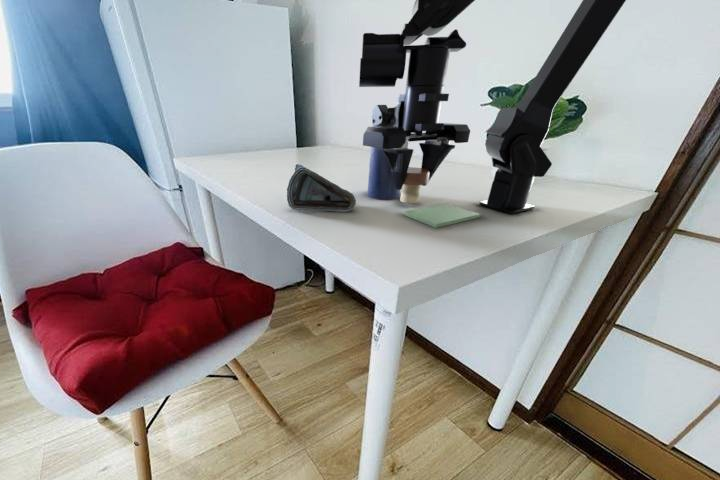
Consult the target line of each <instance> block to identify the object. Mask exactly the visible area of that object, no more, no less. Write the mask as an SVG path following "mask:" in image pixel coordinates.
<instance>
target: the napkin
mask: <svg viewBox="0 0 720 480" xmlns="http://www.w3.org/2000/svg"><path fill="white" fill-rule="evenodd" d="M403 216H405V217H408V218H410V219H413V220H415V221H417V222H420V223H422V224H425V225H427V226H430V227H432V228H434V229H438V228H441V227H442V228H443V227H446V226H449V225H454V224H459V223H462V222H467V221H470V220H473V219H474V220H475V219H480V217H481V213H478V212H476V211H472V210H469V209H466V208H462V207H459V206H456V205H454V204H450V203H447V202H445V203H440V204H435V205H430V206H425V207H421V208H420V207H419V208H416V209H409V210H405V211H403Z"/></svg>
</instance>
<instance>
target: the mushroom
mask: <svg viewBox="0 0 720 480" xmlns="http://www.w3.org/2000/svg"><path fill="white" fill-rule="evenodd" d="M429 174H430V171H429V170H427V169H423V168H421V167H415V166H414V167H413V166H412V167H411V166H409V167H408V171H407V174H406V177H405V181H404V184H403V186H402V189H401V190H400V196H399V198H400V199H399V200H400V202H402V203H404V204H417V203H418V202H419V199H420V191H421V186H423V185H425V184H427V185H428V183H429V182H428V180H429ZM429 181H430V180H429Z"/></svg>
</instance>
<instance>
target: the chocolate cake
mask: <svg viewBox="0 0 720 480" xmlns="http://www.w3.org/2000/svg"><path fill="white" fill-rule="evenodd" d="M286 201H287V205H288V207H289V208H291V209H292V210H294V211H300V212H301V211H304V212H334V213H336V212H338V213H348V212H352V211H353V210H354V208H355V207H356V205H357V204H356V203H357V199H356V196H355V194H353V193H352V192H350V191H349V190H347V189H344V188H342V187H340V186H339V185H338V184H335V183H333V182H332V181H330V180H329V179H327V178H325V177H324V176H322V175H320V174H318V173H317V172H315V171H313V170H310V168H307V167H305V166H303V165H302V164H298V163H297V164H296V165H295V167H294V172H293V174H292V175H291V177H290V179H289V181H288V185H287V188H286Z"/></svg>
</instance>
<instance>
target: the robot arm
mask: <svg viewBox="0 0 720 480" xmlns="http://www.w3.org/2000/svg"><path fill="white" fill-rule="evenodd" d="M475 1H476V0H415V1H414V4H413V7H412V10H411V11H412V12H411V18H410V20H409V21H408V22H407V23H404V24H403V27H401V30H400V33H381V34H380V33H374V32H364V33H363V34H362V45H361V46H362V48H361V49H362V50H361V58H360V61H359V63H360V65H359V82H358V84H359V85H358V87H359V88H381V87H382V88H384V87H385V88H391V87H392V88H394V87H396V84H397V80H403V79H404V76H405V71H406V61H407V54H409V58H408V65H407V74H406V83H405V92H404V94H403V93H401V94H399V97H398V98H397V104H396V106H394V107H388V105H387V104H377V105H375V106H374V107H372V115H371V122H372V126H367V128H366V129H365V130H364V132H363V134H362V135H363V136H362V138H363V139H362V146H365V147H370V148H371V147H375V148H377V149H378V150H380V151H383V153H384V154H385V155H386V156H387V158H388V161H389V164H390V167H391V171H392V175H393V180H394V184H395V188H396V189H398V190H400V191H401V189H402V186H403V184H404V181H405V177H406V174H407V171H408V167H410V163H411V161H412V156H413V153H414V149H413V148H409V142H410V143H411V142H419V143H418V144H419V147H420V150H421V152H422V157H421V167H420V168H423V169H427V170H429V171H430V174H429V180H428V183H429V182H430V181H431V179H432V178H433V176H434V174H435V173H436V171H437V170H438V168H439V167H440V166H441V164H442V163H443V162H444V160H445V159H446V157H447V156H448V155H449V153H450V152H451V151H452V150H454V149H455V148H456V144H463V143H469V139H470V135H471V129H470V127H469V125H468V124H465V123H464V124H463V123H449V122H448V123H447V122H440V116H441V110H442V109H441V108H442V102H448V101H449V97H450V94H449V93H444V90H445V84H446V78H447V71H448V66H449V59H450V54H451V53H457V52H459V51H461V50H463V49H465V48H466V47H467V42H466V41H465V40H464V39H463V38H462V37H461V36H460V33H459V30H458V29H457V28H456V29H454V30H452V31H451V32H450V33H449V34H448V36H434V35H437V34H439V33H440V32H441V31H442V30H444V29H445V28H446V27H447V26H448V25H450V23H452V21H454V20H455V19H456V18H457V17H459V15H461V13H463V12H465V10H466V9H468V7H470V6H471V5H472V4H473V3H474V2H475ZM626 2H627V0H581V2H580V5H579V6H578V7H577V9H576V10H575V12H574V14H573V15H572V17H571V19H570V20H569V22H568V24H567V25H566V27H565V28H564V30H563V32H562V33H561V35H560V36H559V38H558V40H557V41H556V43H555V45H554V46H553V48H552V50H551V51H550V53H549V55H547V58H546V59H545V60H544V62H543V64H542V66H541V67H540V69H539V71H538V72H537V74H536V76H535V77H534V79H533V80H532V81H531V83H530V85H529V87H528V88H527V90H526V92H525V93H524V95H523V97H521V99H520V100H519V101H518V102H517V103H516V104H515V105H514V106H513V107H501V108H500V109H499V111H498V112H497V115H496V117H495V120H494V122H493V123H492V124H491V126H490V127H489V128H488V129H486V131H485V133H486V134H488V135H487V137H486V139H485V144H484V145H485V151H486V153H487V155H488V156H490V157H491V166H492V168H497V170H496V171H495V173H494V176H493V181H492V183H491V185H490V190H489V193H488V194H489V195H488V198H487V199H485V200H480V201H479V203H478V205H480V206H484V207H486V208H490V209H494V210H497V211H501V212H504V213H508V214H512V215H514V214H517V213H522V212H526V211H531V210H534V209H535V206H536V205H533V204H530V203H527V202H528V200H529V195H530V193H531V189H532V187H533V185H534V184H533V183H534V181H535V178H544V176H545V175H546V174H547V172H548V171H549V170H550V169H551V167H552V165H553V163H552V162H551V160H550V158H549V157H548V156H547V154H546V152H545V151H544V150H543V148H542V147H541V146H542V144H543V142H544V140H545V138H546V136H547V134H548V132H549V130H550V125H551V120H552V116H553V111H554V109H555V107H556V106H557V104H558V103H559V101H560V99H561V97H562V96H563V95H564V94H565V92H566V90H567V89H568V88H569V86H570V85H571V83H572V81H573V80H574V78H575V77H576V76H577V74H578V73H579V71H580V70H581V68H582V67H583V65H584V63H585V62H586V61H587V59H588V58H589V56H590V55H591V53H592V51H593V50H594V49H595V47H596V46H597V44H598V43H599V41H600V40H601V39H602V37H603V35H604V34H605V33H606V31H607V29H608V28H609V27H610V25H611V24H612V22H613V20H614V19H615V18H616V16H617V15H618V13H619V12H620V10H621V9H622V7H623V5H624V4H625V3H626ZM423 36H425V37H426V36H427V38H426V40H425V42H424V44H417V45H416V44H414V45H412V44H413V43H414V42H417V41H418V39H420V38H421V37H423ZM432 36H433V37H432ZM450 141H451V142H452V141H453V142H454V144H450V143H451V142H450ZM428 183H427V184H425V185H422V186H423V187H426V186H427V185H428Z"/></svg>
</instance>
